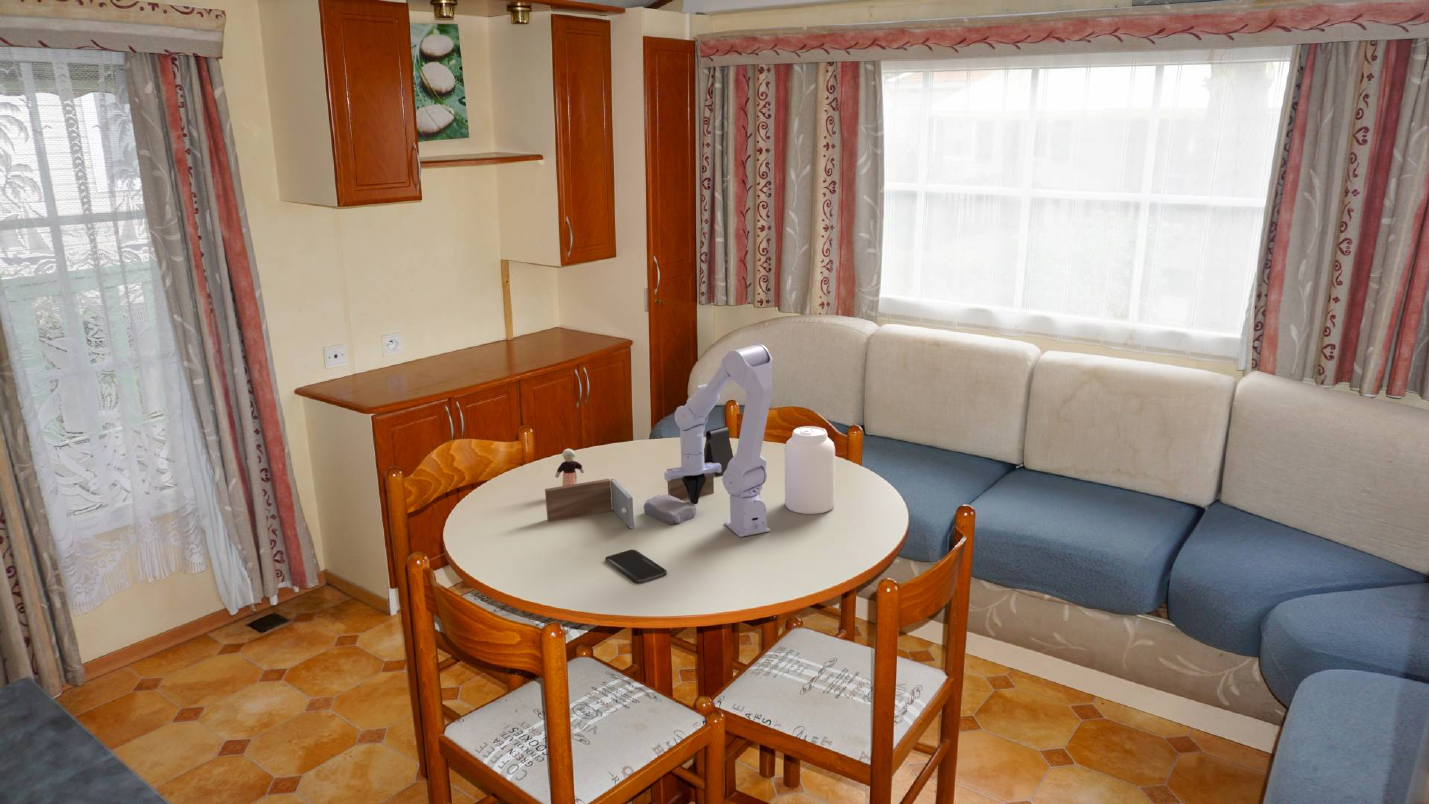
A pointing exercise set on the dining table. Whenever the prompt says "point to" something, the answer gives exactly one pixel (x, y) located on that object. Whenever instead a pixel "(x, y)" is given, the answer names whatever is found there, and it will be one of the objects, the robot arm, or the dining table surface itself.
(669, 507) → the stone block
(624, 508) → the door
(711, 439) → the phone stand
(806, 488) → the can
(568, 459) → the grandmother figurine
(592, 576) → the dining table surface
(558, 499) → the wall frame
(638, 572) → the phone
